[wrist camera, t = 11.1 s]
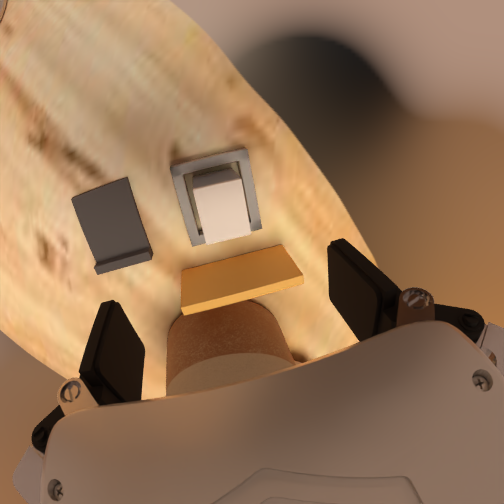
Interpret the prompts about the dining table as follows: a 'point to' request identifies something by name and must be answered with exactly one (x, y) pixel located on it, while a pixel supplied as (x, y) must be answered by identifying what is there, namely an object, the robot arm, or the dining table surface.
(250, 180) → the port
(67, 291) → the dining table surface
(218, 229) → the plug
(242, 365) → the planter
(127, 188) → the dark grey lipped plate
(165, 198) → the dining table surface
